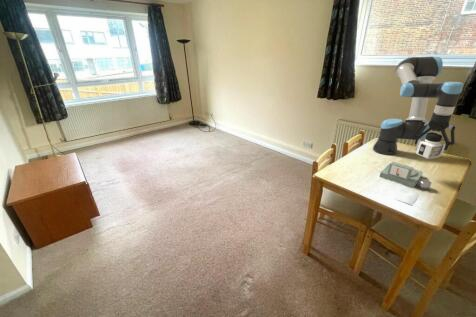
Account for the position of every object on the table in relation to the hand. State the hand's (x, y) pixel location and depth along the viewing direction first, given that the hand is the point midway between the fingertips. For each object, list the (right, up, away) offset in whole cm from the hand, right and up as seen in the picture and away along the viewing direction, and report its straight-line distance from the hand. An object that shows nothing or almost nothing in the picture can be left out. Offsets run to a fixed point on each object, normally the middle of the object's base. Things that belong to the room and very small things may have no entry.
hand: (428, 152), depth 125 cm
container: (0, -2, +1) cm, 2 cm away
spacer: (-6, -20, -4) cm, 21 cm away
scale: (-10, -14, +7) cm, 19 cm away
